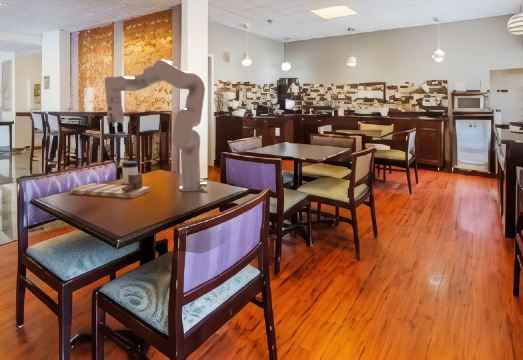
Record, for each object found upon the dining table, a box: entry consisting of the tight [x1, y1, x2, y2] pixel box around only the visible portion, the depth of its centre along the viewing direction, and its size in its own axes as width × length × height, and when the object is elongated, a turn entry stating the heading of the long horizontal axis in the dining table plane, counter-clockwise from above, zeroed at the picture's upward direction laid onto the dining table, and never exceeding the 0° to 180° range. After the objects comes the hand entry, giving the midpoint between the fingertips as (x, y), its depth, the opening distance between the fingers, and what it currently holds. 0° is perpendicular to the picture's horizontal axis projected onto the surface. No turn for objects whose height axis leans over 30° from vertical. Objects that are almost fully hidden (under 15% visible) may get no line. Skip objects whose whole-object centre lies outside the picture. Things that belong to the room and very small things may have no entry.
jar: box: [121, 160, 139, 185], centre depth 217 cm, size 9×8×12 cm
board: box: [70, 182, 152, 199], centre depth 196 cm, size 36×16×2 cm, turn 74°
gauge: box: [122, 172, 143, 191], centre depth 192 cm, size 4×13×7 cm, turn 164°
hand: (116, 133), depth 206 cm, fingers open, 9 cm apart
